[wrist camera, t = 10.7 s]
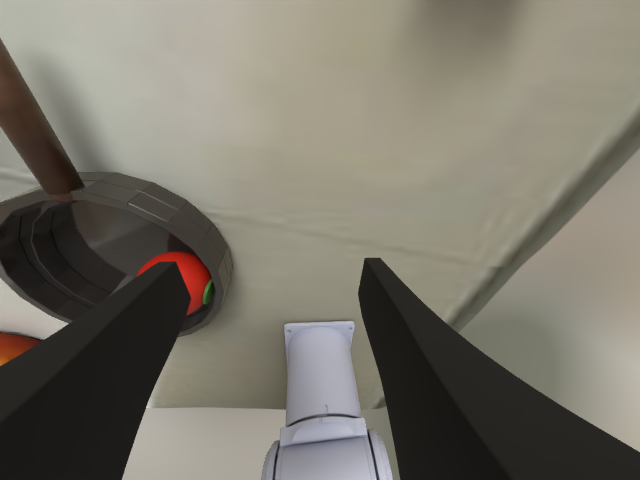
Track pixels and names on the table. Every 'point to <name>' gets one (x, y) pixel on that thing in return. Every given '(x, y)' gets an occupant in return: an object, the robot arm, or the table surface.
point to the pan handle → (34, 134)
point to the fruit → (14, 346)
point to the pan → (103, 244)
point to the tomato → (189, 276)
